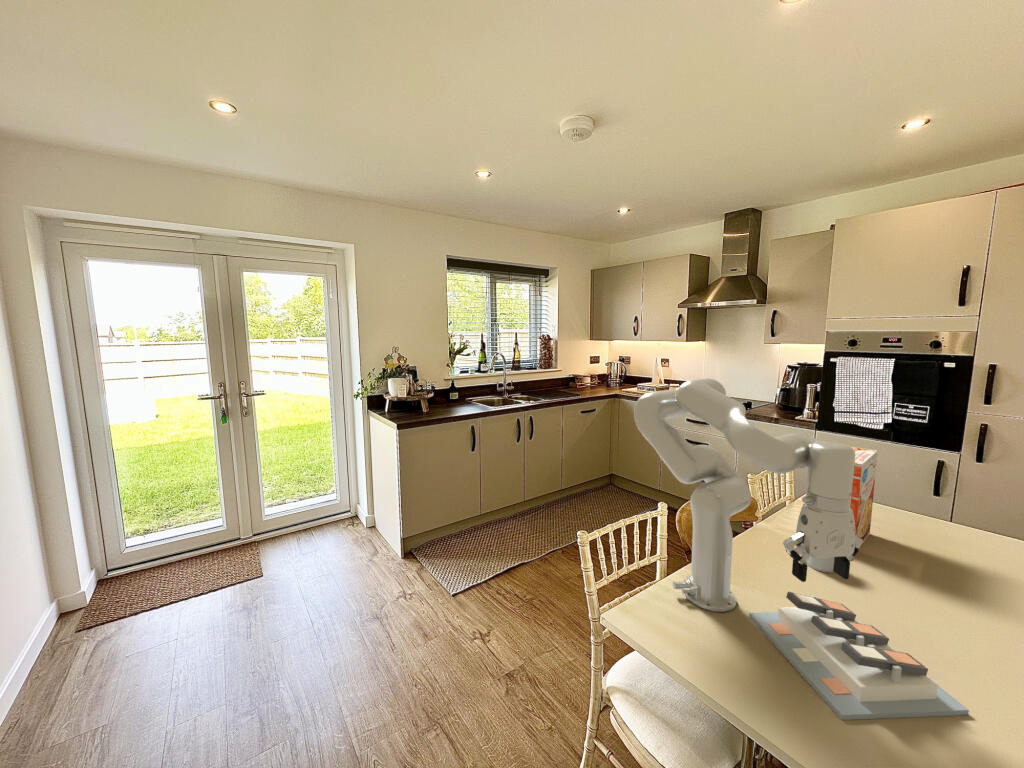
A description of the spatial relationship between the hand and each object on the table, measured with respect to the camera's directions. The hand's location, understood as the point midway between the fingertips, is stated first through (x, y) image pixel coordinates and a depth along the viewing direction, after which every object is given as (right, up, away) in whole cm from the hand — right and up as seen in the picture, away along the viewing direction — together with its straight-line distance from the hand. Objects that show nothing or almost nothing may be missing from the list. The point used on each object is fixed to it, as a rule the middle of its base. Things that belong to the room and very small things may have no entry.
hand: (819, 576), depth 89 cm
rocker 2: (+6, -12, 0) cm, 13 cm away
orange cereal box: (+48, -12, +52) cm, 71 cm away
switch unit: (+6, -18, +1) cm, 19 cm away
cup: (+26, -14, +37) cm, 48 cm away
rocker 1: (+6, -11, +8) cm, 15 cm away
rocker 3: (+7, -12, -8) cm, 16 cm away
